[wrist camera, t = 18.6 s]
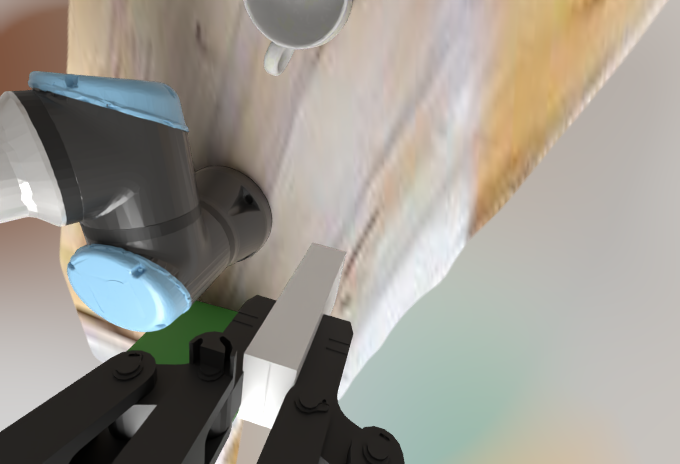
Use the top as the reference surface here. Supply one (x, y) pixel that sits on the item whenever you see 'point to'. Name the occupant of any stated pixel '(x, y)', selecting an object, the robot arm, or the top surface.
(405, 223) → the top surface
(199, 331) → the hardback book
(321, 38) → the teacup
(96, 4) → the top surface
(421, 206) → the top surface
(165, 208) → the robot arm
